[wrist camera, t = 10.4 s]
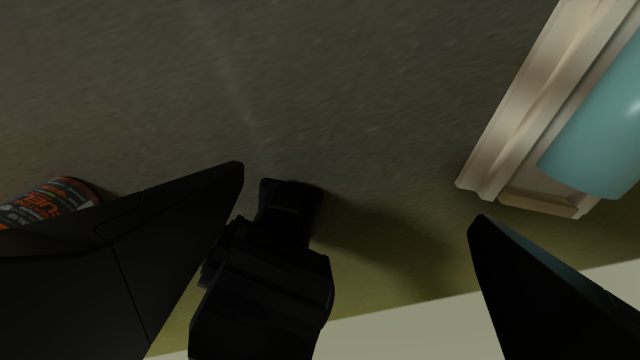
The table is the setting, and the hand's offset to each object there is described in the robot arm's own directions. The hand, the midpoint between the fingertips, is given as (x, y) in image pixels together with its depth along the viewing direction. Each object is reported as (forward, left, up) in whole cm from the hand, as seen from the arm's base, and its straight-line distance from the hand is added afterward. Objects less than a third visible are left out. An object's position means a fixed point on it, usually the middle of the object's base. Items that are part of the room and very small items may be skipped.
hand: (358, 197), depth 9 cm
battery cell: (+4, -17, -12) cm, 21 cm away
